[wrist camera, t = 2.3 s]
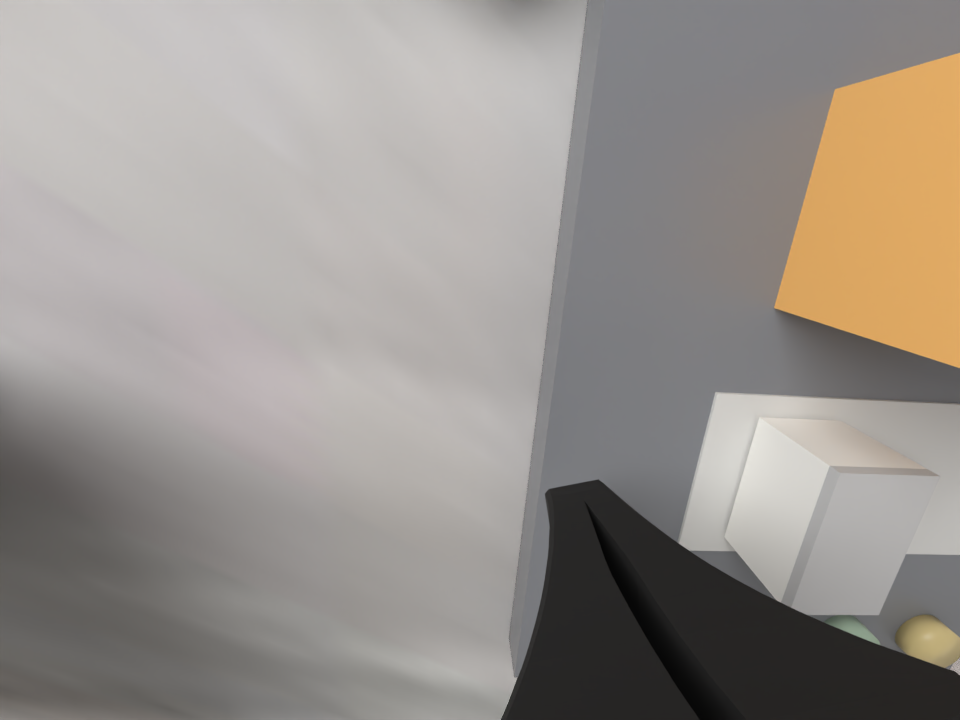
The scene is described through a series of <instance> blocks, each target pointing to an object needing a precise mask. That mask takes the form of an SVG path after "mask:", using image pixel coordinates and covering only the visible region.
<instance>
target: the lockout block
mask: <svg viewBox="0 0 960 720" xmlns="http://www.w3.org/2000/svg"><path fill="white" fill-rule="evenodd" d="M774 308H775V309H779V310H782V311H785V312H788V313H791V314H794V315H797V316H800V317H803V318H806V319H809V320H813V321H816V322H819V323H822V324H825V325H828V326H831V327H834V328H837V329H840V330H843V331H846V332H850V333H853V334H856V335H859V336H862V337H865V338H868V339H871V340H874V341H877V342H880V343H883V344H887V345H890V346H893V347H896V348H899V349H902V350H905V351H908V352H911V353H914V354H917V355H921V356H924V357H927V358H930V359H933V360H936V361H939V362H942V363H945V364H948V365H951V366H954V367H958V368H960V53H957V54H954V55H950V56H947V57H944V58H940V59H937V60H933V61H930V62H927V63H923V64H920V65H916V66H913V67H910V68H906V69H903V70H899V71H896V72H892V73H889V74H886V75H882V76H879V77H875V78H872V79H869V80H865V81H862V82H858V83H855V84H852V85H848V86H845V87H841V88H838V89H835V91H834V94H833V98H832V102H831V105H830V109H829V112H828V116H827V120H826V123H825V127H824V130H823V134H822V138H821V141H820V145H819V148H818V152H817V155H816V159H815V163H814V166H813V170H812V173H811V177H810V181H809V184H808V188H807V191H806V195H805V199H804V202H803V206H802V209H801V213H800V216H799V220H798V224H797V227H796V231H795V234H794V238H793V242H792V245H791V249H790V252H789V256H788V260H787V263H786V267H785V270H784V274H783V277H782V281H781V285H780V288H779V292H778V295H777V299H776V303H775V306H774Z"/></svg>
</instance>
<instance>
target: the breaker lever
mask: <svg viewBox="0 0 960 720" xmlns="http://www.w3.org/2000/svg"><path fill="white" fill-rule="evenodd" d="M940 477H941V476H939V475H937V474H935V473H934V472H932V471H930V470H928V469H926V468H925V467H923V466H921V465H919V464H917V463H916V462H914V461H912V460H910V459H909V458H907V457H905V456H903V455H901V454H900V453H898V452H896V451H894V450H892V449H891V448H889V447H887V446H885V445H883V444H882V443H880V442H878V441H876V440H874V439H873V438H871V437H869V436H867V435H865V434H864V433H862V432H860V431H858V430H856V429H855V428H853V427H851V426H849V425H847V424H846V423H844V422H842V421H839V420H815V419H791V418H767V417H759V420H758V423H757V427H756V430H755V434H754V437H753V440H752V444H751V447H750V451H749V454H748V458H747V461H746V465H745V468H744V471H743V475H742V478H741V482H740V485H739V489H738V492H737V496H736V499H735V502H734V506H733V509H732V513H731V516H730V520H729V523H728V527H727V530H726V533H725V539H726V540H727V541H728V542H729V543H730V545H731V546H732V547H733V548H734V549H735V551H736V552H737V553H738V554H739V556H740V557H741V558H742V559H743V560H744V562H745V563H746V564H747V565H748V566H749V568H750V569H751V570H752V571H753V573H754V574H755V575H756V576H757V577H758V579H759V580H760V581H761V582H762V583H763V585H764V586H765V587H766V588H767V590H768V591H769V592H770V593H771V594H772V596H773V597H774V598H775V599H776V600H777V601H779V602H781V603H783V604H785V605H787V606H789V607H791V608H793V609H795V610H797V611H799V612H802V613H804V614H806V615H879V613H880V611H881V609H882V607H883V604H884V602H885V600H886V598H887V595H888V593H889V591H890V589H891V586H892V584H893V582H894V580H895V577H896V575H897V573H898V571H899V568H900V566H901V564H902V562H903V560H904V557H905V555H906V553H907V551H908V548H909V546H910V544H911V542H912V539H913V537H914V535H915V533H916V530H917V528H918V526H919V524H920V521H921V519H922V517H923V515H924V512H925V510H926V508H927V506H928V503H929V501H930V499H931V497H932V494H933V492H934V490H935V488H936V486H937V483H938V481H939V479H940Z"/></svg>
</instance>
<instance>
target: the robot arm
mask: <svg viewBox="0 0 960 720" xmlns="http://www.w3.org/2000/svg"><path fill="white" fill-rule="evenodd" d="M545 499H546V505H547V512H548V518H549V525H550V529H549V549H548V558H547V566H546V573H545V580H544V586H543V591H542V596H541V601H540V606H539V610H538V614H537V618H536V622H535V626H534V629H533V633H532V636H531V640H530V643H529V647H528V650H527V653H526V656H525V659H524V662H523V665H522V668H521V670H520V673H519V676H518V678H517V681H516V684H515V686H514V689H513V692H512V694H511V697H510V700H509V702H508V705H507V707H506V709H505V712H504V714H503V716H502V719H501V720H960V675H958V674H957V673H956V672H955V671H952V670H949V669H946V668H943V667H940V666H938V665H935V664H932V663H929V662H926V661H924V660H921V659H918V658H915V657H912V656H909V655H907V654H904V653H901V652H898V651H895V650H892V649H890V648H887V647H884V646H881V645H878V644H876V643H873V642H870V641H868V640H865V639H863V638H860V637H858V636H856V635H853V634H851V633H848V632H846V631H843V630H841V629H839V628H836V627H834V626H831V625H829V624H826V623H824V622H822V621H820V620H817V619H815V618H813V617H811V616H808V615H806V614H804V613H802V612H799V611H797V610H795V609H793V608H791V607H789V606H787V605H785V604H783V603H781V602H779V601H777V600H775V599H773V598H771V597H769V596H767V595H765V594H762V593H760V592H759V591H757V590H755V589H753V588H751V587H749V586H747V585H745V584H743V583H742V582H740V581H738V580H736V579H735V578H733V577H731V576H729V575H728V574H726V573H724V572H723V571H721V570H719V569H717V568H716V567H714V566H712V565H710V564H709V563H707V562H706V561H704V560H703V559H701V558H700V557H698V556H696V555H695V554H694V553H692V552H691V551H689V550H688V549H686V548H685V547H683V546H682V545H680V544H679V543H677V542H676V541H675V540H673V539H672V538H671V537H669V536H668V535H666V534H665V533H664V532H662V531H661V530H660V529H658V528H657V527H656V526H655V525H653V524H652V523H651V522H649V521H648V520H647V519H645V518H644V517H643V516H642V515H640V514H639V513H638V512H637V511H635V510H634V509H633V508H632V507H631V506H629V505H628V504H627V503H626V502H625V501H624V500H622V499H621V498H620V497H619V496H618V495H617V494H615V493H614V492H613V491H612V490H611V489H610V488H609V487H607V486H606V485H605V484H604V483H603V482H601V481H600V480H599V479H598V480H593V481H588V482H582V483H577V484H572V485H567V486H561V487H556V488H551V489H548V490H547V492H546V493H545Z"/></svg>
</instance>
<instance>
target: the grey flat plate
mask: <svg viewBox="0 0 960 720" xmlns="http://www.w3.org/2000/svg"><path fill="white" fill-rule="evenodd" d="M957 53H960V0H588V3H587V11H586V19H585V27H584V35H583V43H582V51H581V59H580V67H579V76H578V84H577V92H576V100H575V108H574V116H573V124H572V132H571V140H570V148H569V156H568V165H567V173H566V181H565V189H564V197H563V205H562V213H561V221H560V229H559V237H558V245H557V254H556V262H555V270H554V278H553V286H552V294H551V302H550V310H549V318H548V326H547V334H546V343H545V351H544V359H543V367H542V375H541V383H540V391H539V399H538V407H537V415H536V423H535V431H534V440H533V448H532V456H531V464H530V472H529V480H528V488H527V496H526V504H525V512H524V520H523V529H522V537H521V545H520V553H519V561H518V569H517V577H516V585H515V593H514V601H513V609H512V618H511V626H510V634H509V642H510V649H511V656H512V663H513V670H514V677H518V676H519V673H520V670H521V668H522V665H523V662H524V659H525V656H526V653H527V650H528V647H529V643H530V640H531V636H532V633H533V629H534V626H535V622H536V618H537V614H538V610H539V606H540V601H541V596H542V591H543V586H544V580H545V573H546V566H547V558H548V549H549V529H550V525H549V518H548V512H547V505H546V499H545V493H546V492H547V490H548V489H551V488H556V487H561V486H567V485H572V484H577V483H582V482H588V481H593V480H598V479H599V480H600V481H601V482H603V483H604V484H605V485H606V486H607V487H609V488H610V489H611V490H612V491H613V492H614V493H615V494H617V495H618V496H619V497H620V498H621V499H622V500H624V501H625V502H626V503H627V504H628V505H629V506H631V507H632V508H633V509H634V510H635V511H637V512H638V513H639V514H640V515H642V516H643V517H644V518H645V519H647V520H648V521H649V522H651V523H652V524H653V525H655V526H656V527H657V528H658V529H660V530H661V531H662V532H664V533H665V534H666V535H668V536H669V537H671V538H672V539H673V540H675V541H676V542H677V543H679V544H680V545H682V546H683V547H685V548H686V549H688V550H689V551H691V552H692V553H694V554H695V555H696V556H698V557H700V558H701V559H703V560H704V561H706V562H707V563H709V564H710V565H712V566H714V567H716V568H717V569H719V570H721V571H723V572H724V573H726V574H728V575H729V576H731V577H733V578H735V579H736V580H738V581H740V582H742V583H743V584H745V585H747V586H749V587H751V588H753V589H755V590H757V591H759V592H760V593H762V594H765V595H767V596H769V597H771V598H773V599H775V598H774V597H773V596H772V594H771V593H770V592H769V591H768V590H767V588H766V587H765V586H764V585H763V583H762V582H761V581H760V580H759V579H758V577H757V576H756V575H755V574H754V573H753V571H752V570H751V569H750V568H749V566H748V565H747V564H746V563H745V562H744V560H743V559H742V558H741V557H740V556H739V554H738V553H737V552H736V551H735V549H734V548H733V547H732V546H731V545H730V543H729V542H728V541H727V540H726V539H725V533H726V530H727V527H728V523H729V520H730V516H731V513H732V509H733V506H734V502H735V499H736V496H737V492H738V489H739V485H740V482H741V478H742V475H743V471H744V468H745V465H746V461H747V458H748V454H749V451H750V447H751V444H752V440H753V437H754V434H755V430H756V427H757V423H758V420H759V417H767V418H791V419H815V420H839V421H842V422H844V423H846V424H847V425H849V426H851V427H853V428H855V429H856V430H858V431H860V432H862V433H864V434H865V435H867V436H869V437H871V438H873V439H874V440H876V441H878V442H880V443H882V444H883V445H885V446H887V447H889V448H891V449H892V450H894V451H896V452H898V453H900V454H901V455H903V456H905V457H907V458H909V459H910V460H912V461H914V462H916V463H917V464H919V465H921V466H923V467H925V468H926V469H928V470H930V471H932V472H934V473H935V474H937V475H939V476H941V477H940V479H939V481H938V483H937V486H936V488H935V490H934V492H933V494H932V497H931V499H930V501H929V503H928V506H927V508H926V510H925V512H924V515H923V517H922V519H921V521H920V524H919V526H918V528H917V530H916V533H915V535H914V537H913V539H912V542H911V544H910V546H909V548H908V551H907V553H906V555H905V557H904V560H903V562H902V564H901V566H900V568H899V571H898V573H897V575H896V577H895V580H894V582H893V584H892V586H891V589H890V591H889V593H888V595H887V598H886V600H885V602H884V604H883V607H882V609H881V611H880V613H879V615H808V616H811V617H813V618H815V619H817V620H820V621H822V622H824V623H826V624H829V625H831V626H834V627H836V628H839V629H841V630H843V631H846V632H848V633H851V634H853V635H856V636H858V637H860V638H863V639H865V640H868V641H870V642H873V643H876V644H878V645H881V646H884V647H887V648H890V649H892V650H895V651H898V652H901V653H904V654H907V655H909V656H912V657H915V658H918V659H921V660H924V661H926V662H929V663H932V664H935V665H938V666H940V667H943V668H946V669H949V670H950V668H951V666H952V664H953V663H954V662H955V661H957V660H958V658H959V657H960V368H958V367H954V366H951V365H948V364H945V363H942V362H939V361H936V360H933V359H930V358H927V357H924V356H921V355H917V354H914V353H911V352H908V351H905V350H902V349H899V348H896V347H893V346H890V345H887V344H883V343H880V342H877V341H874V340H871V339H868V338H865V337H862V336H859V335H856V334H853V333H850V332H846V331H843V330H840V329H837V328H834V327H831V326H828V325H825V324H822V323H819V322H816V321H813V320H809V319H806V318H803V317H800V316H797V315H794V314H791V313H788V312H785V311H782V310H779V309H775V308H774V306H775V303H776V299H777V295H778V292H779V288H780V285H781V281H782V277H783V274H784V270H785V267H786V263H787V260H788V256H789V252H790V249H791V245H792V242H793V238H794V234H795V231H796V227H797V224H798V220H799V216H800V213H801V209H802V206H803V202H804V199H805V195H806V191H807V188H808V184H809V181H810V177H811V173H812V170H813V166H814V163H815V159H816V155H817V152H818V148H819V145H820V141H821V138H822V134H823V130H824V127H825V123H826V120H827V116H828V112H829V109H830V105H831V102H832V98H833V94H834V91H835V89H838V88H841V87H845V86H848V85H852V84H855V83H858V82H862V81H865V80H869V79H872V78H875V77H879V76H882V75H886V74H889V73H892V72H896V71H899V70H903V69H906V68H910V67H913V66H916V65H920V64H923V63H927V62H930V61H933V60H937V59H940V58H944V57H947V56H950V55H954V54H957ZM775 600H776V599H775Z"/></svg>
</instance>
